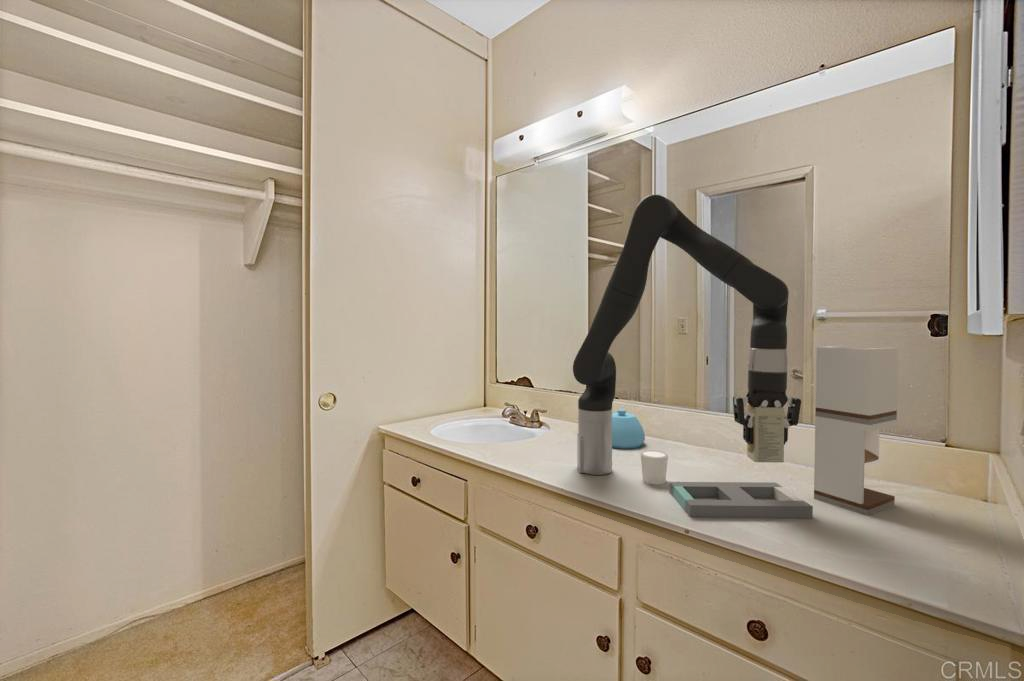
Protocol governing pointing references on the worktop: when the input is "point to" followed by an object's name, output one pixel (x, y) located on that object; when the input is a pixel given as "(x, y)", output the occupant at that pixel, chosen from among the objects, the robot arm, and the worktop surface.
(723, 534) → the worktop surface
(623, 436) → the sugar bowl
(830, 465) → the coffee maker
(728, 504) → the slot holder
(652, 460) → the white tapered cup
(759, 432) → the skincare box
